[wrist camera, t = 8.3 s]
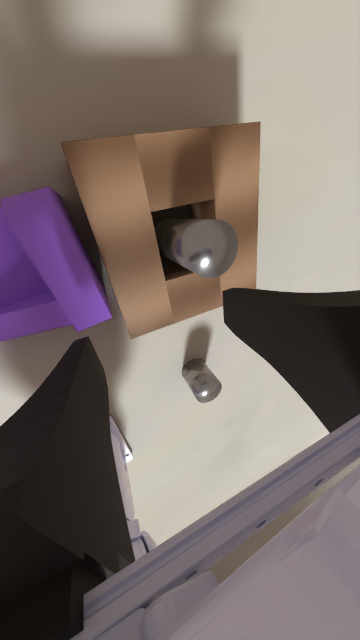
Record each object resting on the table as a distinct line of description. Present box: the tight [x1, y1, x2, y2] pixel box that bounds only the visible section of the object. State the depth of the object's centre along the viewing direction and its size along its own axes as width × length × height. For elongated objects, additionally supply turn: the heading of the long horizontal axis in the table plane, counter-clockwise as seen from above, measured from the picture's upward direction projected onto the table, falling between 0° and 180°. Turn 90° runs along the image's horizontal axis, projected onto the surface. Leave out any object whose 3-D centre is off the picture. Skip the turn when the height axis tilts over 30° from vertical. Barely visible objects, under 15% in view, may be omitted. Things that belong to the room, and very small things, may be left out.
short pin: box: [182, 359, 222, 403], centre depth 24 cm, size 3×3×4 cm
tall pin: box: [154, 218, 238, 278], centre depth 15 cm, size 3×3×8 cm
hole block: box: [61, 122, 260, 339], centre depth 16 cm, size 12×12×4 cm
